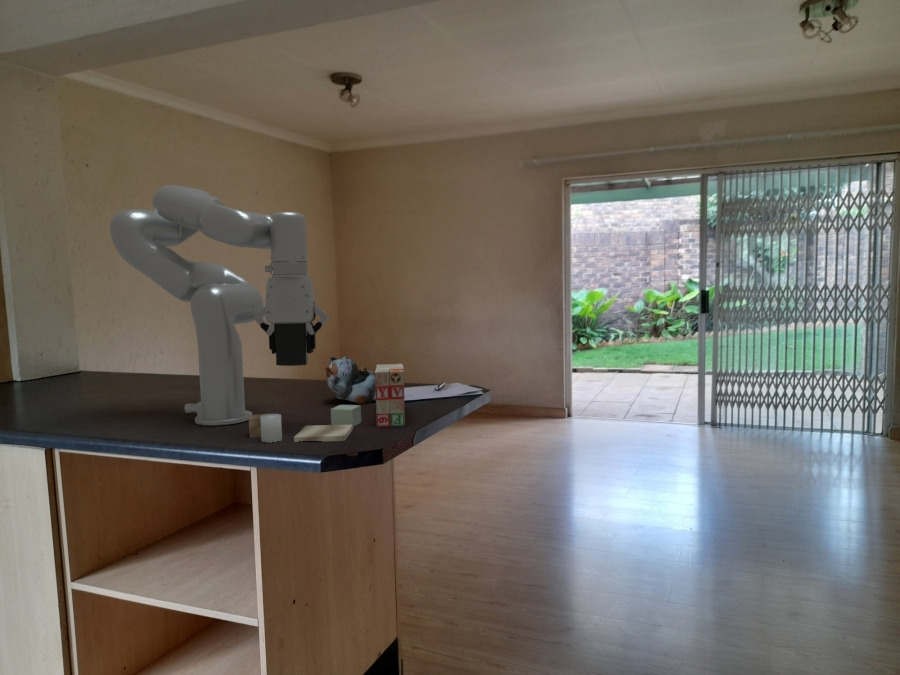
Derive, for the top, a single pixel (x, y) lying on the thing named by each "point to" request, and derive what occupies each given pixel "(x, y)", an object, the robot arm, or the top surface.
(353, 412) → the sage block
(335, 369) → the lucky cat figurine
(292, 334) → the battery
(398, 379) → the stack of blocks
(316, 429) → the birch coaster
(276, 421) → the grey rounded block
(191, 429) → the top surface
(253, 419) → the oak block
